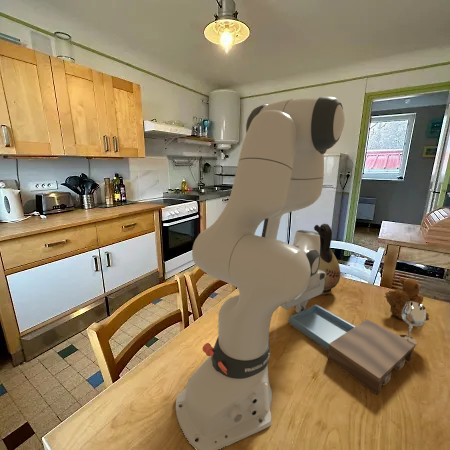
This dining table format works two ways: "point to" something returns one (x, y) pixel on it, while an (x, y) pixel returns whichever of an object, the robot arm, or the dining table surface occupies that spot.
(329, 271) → the ceramic jug
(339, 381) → the dining table surface
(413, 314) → the wineglass
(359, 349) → the wooden drawer box
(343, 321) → the tray
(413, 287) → the stuffed squirrel
